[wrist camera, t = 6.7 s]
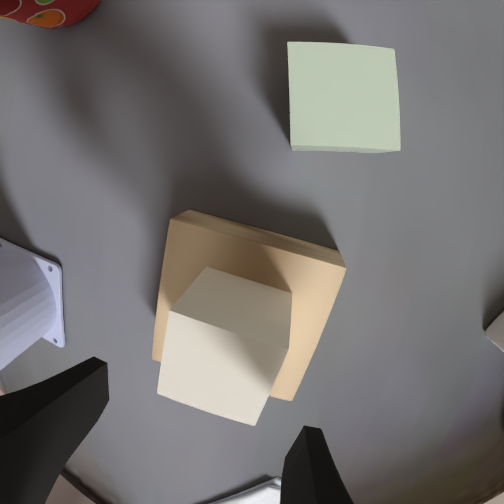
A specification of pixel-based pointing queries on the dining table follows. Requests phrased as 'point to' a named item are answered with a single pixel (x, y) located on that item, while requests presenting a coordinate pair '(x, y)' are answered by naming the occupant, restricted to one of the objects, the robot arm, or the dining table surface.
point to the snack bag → (256, 494)
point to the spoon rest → (497, 331)
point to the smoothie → (46, 11)
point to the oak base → (253, 279)
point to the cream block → (225, 345)
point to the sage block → (343, 98)
